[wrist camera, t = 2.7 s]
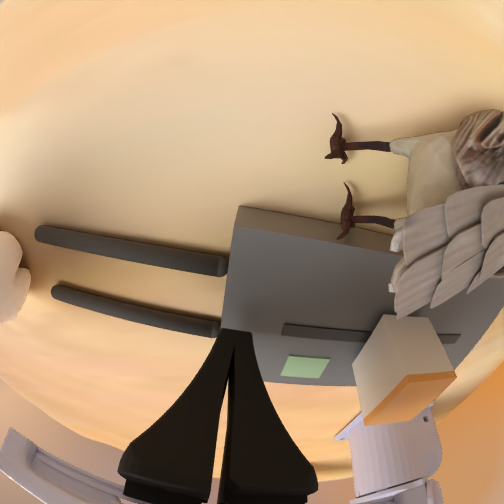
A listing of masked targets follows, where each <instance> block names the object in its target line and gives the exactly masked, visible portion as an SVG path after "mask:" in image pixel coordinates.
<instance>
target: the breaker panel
mask: <svg viewBox="0 0 504 504" xmlns="http://www.w3.org/2000/svg"><path fill="white" fill-rule="evenodd" d="M343 231H344V230H342V227H341V224H336V223H331V222H326V221H321V220H316V219H311V218H306V217H300V216H295V215H290V214H284V213H278V212H273V211H267V210H261V209H255V208H249V207H243V206H239V208H238V212H237V216H236V220H235V224H234V230H233V237H232V244H231V251H230V258H229V265H228V273H227V280H226V288H225V296H224V304H223V311H222V319H221V328H228V329H234V330H241V331H247V332H251V333H252V336H253V345H254V350H255V355H256V359H257V363H258V366H259V370H260V373H261V376H262V379H263V381H265V382H275V383H286V384H300V385H320V386H356V381H355V376H354V372H353V367H352V364H353V362H354V361H355V359H356V358H357V356H358V355H359V353H360V352H361V350H362V349H363V347H364V345H365V344H366V342H367V341H368V339H369V338H370V336H371V334H372V333H373V331H374V329H375V328H376V326H377V324H378V323H379V321H380V319H381V318H382V316H383V314H387V315H397V313H396V312H395V311H394V299H395V294H396V293H392V292H389V286H388V284H389V283H391V278H392V275H393V272H394V269H395V266H396V265H397V264H398V262H399V261H400V260H401V259H402V258H403V257H404V252H403V250H401V251H398V252H394V251H390V246H391V241H392V239H393V236H392V235H388V234H383V233H379V232H374V231H370V230H365V229H360V228H356V227H354V228H350V229H349V232H348V234H347V235H346V236H345V237H343V238H342V239H339V240H336V239H337V237H338V236H339V235H340V234H341V233H342V232H343ZM469 287H470V285H469V286H468V287H466V288H465V289H463V290H462V291H460V292H459V293H457V294H456V295H454V296H453V297H451V298H450V299H448V300H446V301H445V302H443V303H442V304H440V305H438V306H436V307H434V308H432V309H431V308H430V305H431V302H429V303H428V304H426V305H424V306H423V307H421V308H419V309H418V310H416V311H414V312H412V313H411V314H409V315H407V316H411V317H425V318H429V320H430V322H431V324H432V326H433V328H434V330H435V332H436V334H437V335H438V337H439V339H440V341H441V344H442V346H443V348H444V350H445V352H446V354H447V356H448V358H449V360H450V363H451V365H452V367H453V369H454V370H455V369H456V367H457V366H458V365H459V364H460V363H461V362H462V361H463V359H464V358H465V357H466V356H467V355H468V354H469V352H470V351H471V350H472V349H473V347H474V346H475V345H476V344H477V342H478V341H479V340H480V339H481V337H482V336H483V335H484V333H485V332H486V331H487V329H488V328H489V327H490V325H491V324H492V322H493V321H494V319H495V318H496V317H497V315H498V314H499V312H500V311H501V309H502V308H503V306H504V278H501V279H487V280H485V281H484V282H483V283H481V284H480V285H479V286H478V287H476V288H475V289H474V290H472V291H471V292H470V293H468V294H467V291H468V289H469ZM221 328H220V329H221Z"/></svg>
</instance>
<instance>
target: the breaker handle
mask: <svg viewBox="0 0 504 504" xmlns="http://www.w3.org/2000/svg"><path fill="white" fill-rule="evenodd" d="M396 316H397V315H387V314H383V316H382V318H381V319H380V321H379V323H378V324H377V326H376V328H375V329H374V331H373V333H372V334H371V336H370V338H369V339H368V341H367V342H366V344H365V345H364V347H363V349H362V350H361V352H360V353H359V355H358V356H357V358H356V359H355V361H354V362H353V364H352V367H353V372H354V376H355V381H356V386H357V390H358V395H359V400H360V405H361V411H362V416H363V422H364V426H369V425H379V424H388V423H396V422H402V421H409V420H412V419H413V418H414V417H415V416H416V415H418V414H419V413H420V412H421V411H422V410H423V409H425V408H426V407H427V406H428V405H429V404H430V403H431V402H432V401H433V400H435V399H436V398H437V397H438V396H439V395H440V394H441V393H442V392H443V391H444V390H445V389H446V388H447V387H448V386H449V385H450V384H451V383H452V382H453V381H454V380H455V379H456V378H457V376H456V374H455V372H454V369H453V367H452V365H451V363H450V360H449V358H448V356H447V354H446V352H445V350H444V348H443V346H442V344H441V341H440V339H439V337H438V335H437V334H436V332H435V330H434V328H433V326H432V324H431V322H430V320H429V318H425V317H411V316H405V317H403V318H401V319H399V320H396Z"/></svg>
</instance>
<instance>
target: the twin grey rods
mask: <svg viewBox="0 0 504 504" xmlns="http://www.w3.org/2000/svg"><path fill="white" fill-rule="evenodd" d="M35 238H36V240H37V241H39V242H42V243H46V244H51V245H55V246H60V247H64V248H69V249H74V250H78V251H83V252H88V253H92V254H97V255H102V256H107V257H112V258H117V259H122V260H127V261H132V262H137V263H143V264H148V265H153V266H159V267H164V268H170V269H175V270H181V271H186V272H192V273H198V274H204V275H210V276H215V277H222V276H224V275H226V274H227V273H228V265H229V262H228V260H227V259H226V258H225V257H223V256H217V255H211V254H205V253H199V252H193V251H187V250H181V249H175V248H169V247H163V246H157V245H152V244H146V243H140V242H134V241H128V240H122V239H117V238H111V237H105V236H99V235H94V234H88V233H82V232H77V231H71V230H66V229H60V228H54V227H49V226H43V225H41V226H38V227H37V228H36V230H35ZM51 295H52V297H53V298H54V299H57V300H60V301H63V302H66V303H69V304H72V305H75V306H79V307H82V308H85V309H89V310H92V311H95V312H99V313H103V314H106V315H110V316H113V317H117V318H121V319H125V320H129V321H133V322H137V323H141V324H145V325H150V326H154V327H158V328H163V329H168V330H172V331H177V332H182V333H187V334H192V335H198V336H203V337H209V338H216V337H217V335H218V332H219V329H220V328H221V326H220V325H219V323H217V322H215V321H210V320H204V319H199V318H193V317H188V316H183V315H178V314H173V313H168V312H163V311H158V310H154V309H149V308H145V307H140V306H136V305H132V304H127V303H123V302H119V301H115V300H111V299H107V298H103V297H99V296H96V295H92V294H88V293H85V292H81V291H78V290H74V289H71V288H67V287H64V286H60V285H54V286H53V287H52V289H51Z"/></svg>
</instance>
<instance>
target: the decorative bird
mask: <svg viewBox="0 0 504 504" xmlns="http://www.w3.org/2000/svg"><path fill="white" fill-rule="evenodd" d="M332 114H333V113H332ZM333 116H334V117H335V119H336V121H337V125H336V130H335V132H334V134H333V135H332V137H331V138H330V148H331V153H330V154H328V155H327V156H326V157H325V159H333V158H341V159H342V160H343V162H342V164H345V162H346V161H347V158H348V157H347V155H346V153H345V151H348V150H365V149H370V150H379V151H386V152H393V153H394V154H398V155H403V156H407V157H409V169H408V177H407V196H406V200H407V214H408V217H405V218H399V219H397V220H394V219H389V218H386V217H381V216H353V214H354V210H355V209H354V207H353V206H352V194H351V192H350V189H349V187H348V186H347V185H346V184H345V183H344V184H345V186H346V188H347V191H348V195H347V201H346V204H345V206H344V207H343V209H342V211H341V227H342V230H344V231H343V232H342V233H341V234H340V235H339V236H338V237H337V239H336V240H339V239H342V238H343V237H345V236H346V235H347V234H348V232H349V229H350V228H354V226H355V223H376V224H380V225H383V226H386V227H389V228H392V229H396V231H395V233H394V236H393V239H392V241H391V246H390V251H394V252H398V251H401V250H403V252H404V257H403V258H402V259H401V260H400V261H399V262H398V264H397V265H396V266H395V269H394V272H393V275H392V278H391V283H389V284H388V286H389V292H392V293H396V294H395V299H394V311H395V312H396V313H397V316H396V320H399V319H401V318H403V317H405V316H407V315H409V314H411V313H412V312H414V311H416V310H418V309H419V308H421V307H423V306H424V305H426V304H428V303H429V302H431V305H430V308H431V309H432V308H434V307H436V306H438V305H440V304H442V303H443V302H445V301H446V300H448V299H450V298H451V297H453V296H454V295H456V294H457V293H459V292H460V291H462V290H463V289H465V288H466V287H468V286H469V285H470V287H469V289H468V291H467V294H468V293H470V292H471V291H472V290H474V289H475V288H476V287H478V286H479V285H480V284H481V283H483V282H484V281H485V280H487V279H501V278H504V111H500V110H493V109H491V110H485V111H480V112H477V113H473V114H471V115H469V116H467V117H466V118H465V119H464V120H463V121H462V122H461V124H460V126H459V128H458V129H456V130H454V131H451V132H441V133H434V134H428V135H422V136H416V137H408V138H399V139H394V140H392V141H390V142H381V141H370V142H351V143H346V140H345V139H344V138H341V137H342V124H341V122H340V121H339V119H338V117H337V116H336V115H334V114H333Z"/></svg>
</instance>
